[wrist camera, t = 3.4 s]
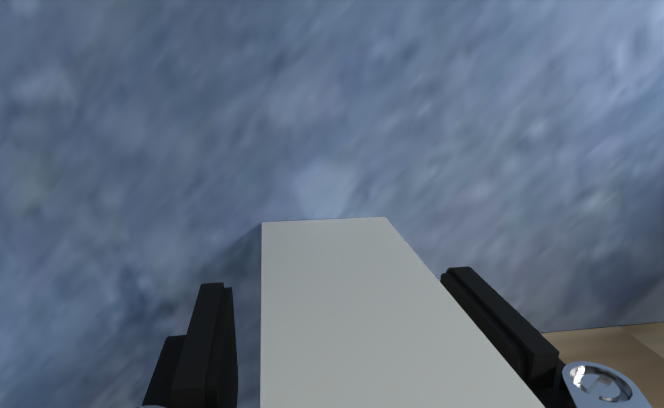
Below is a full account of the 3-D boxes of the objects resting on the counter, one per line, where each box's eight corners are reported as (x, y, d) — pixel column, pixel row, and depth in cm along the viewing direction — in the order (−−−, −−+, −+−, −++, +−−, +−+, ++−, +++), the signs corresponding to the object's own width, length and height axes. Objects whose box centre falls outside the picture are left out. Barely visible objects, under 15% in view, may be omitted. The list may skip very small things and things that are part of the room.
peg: (261, 222, 14) (259, 571, 4) (385, 216, 14) (632, 510, 5) (266, 332, 15) (273, 800, 5) (380, 323, 15) (569, 730, 6)
